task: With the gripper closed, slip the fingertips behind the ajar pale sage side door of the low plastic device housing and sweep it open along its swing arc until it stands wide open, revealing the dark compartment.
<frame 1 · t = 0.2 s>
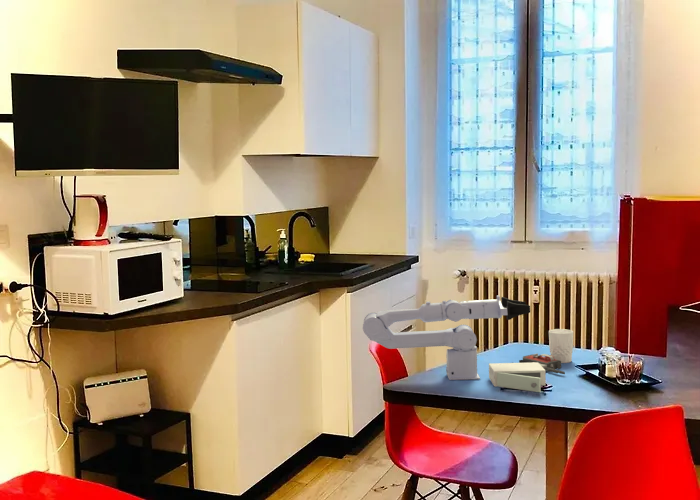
hand: (527, 307, 233), 21 cm above the table, tool horizontal, fingers open, 7 cm apart
side door: (517, 382, 219), point 2 cm above the table, hinge at 35.0°
white cup: (561, 361, 253), on the table
device housing: (516, 381, 229), on the table
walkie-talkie: (546, 370, 243), on the table
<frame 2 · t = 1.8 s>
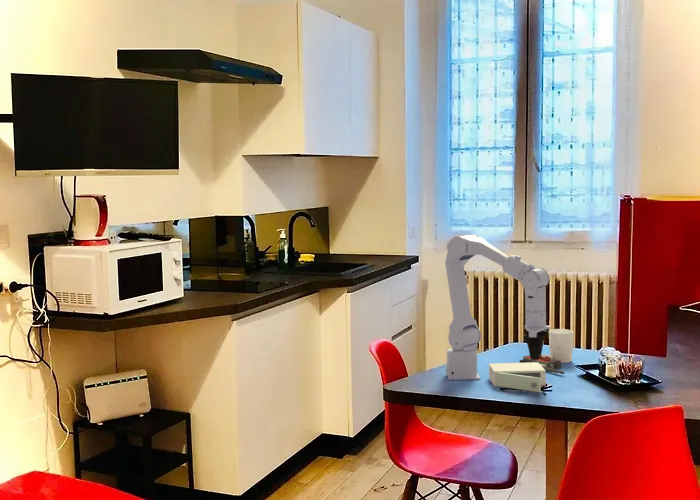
hand: (536, 357, 219), 9 cm above the table, tool pointing down, fingers open, 5 cm apart
nothing on the table moved.
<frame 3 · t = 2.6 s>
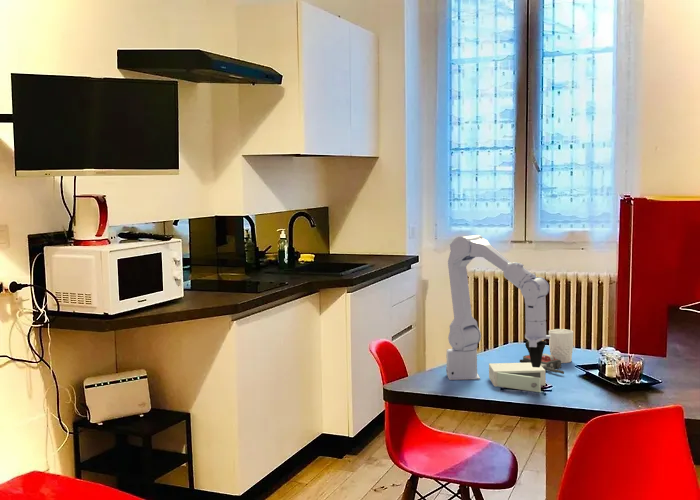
hand: (536, 366, 219), 7 cm above the table, tool pointing down, fingers closed
nothing on the table moved.
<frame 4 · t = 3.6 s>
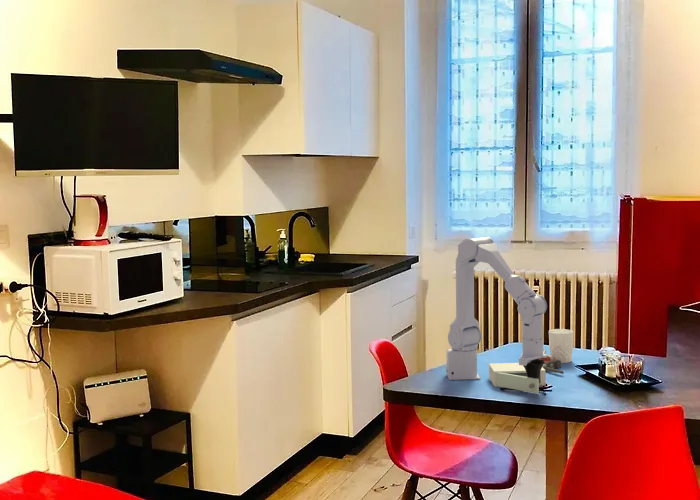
hand: (533, 385, 217), 2 cm above the table, tool pointing down, fingers closed
side door: (516, 382, 219), point 2 cm above the table, hinge at 40.9°, touching gripper
everything else where it was.
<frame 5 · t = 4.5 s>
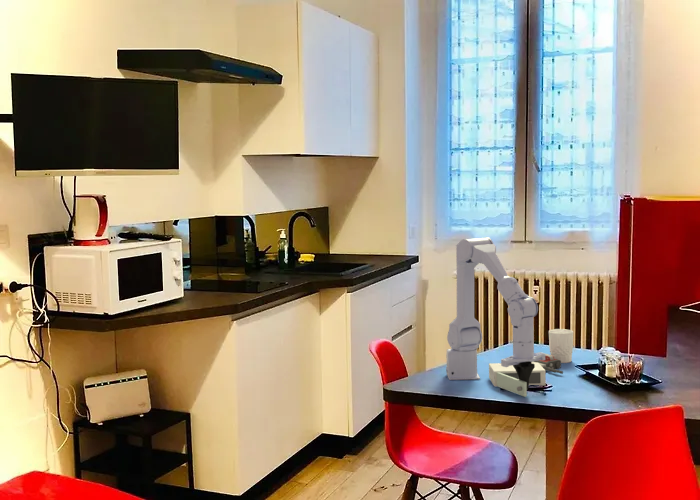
hand: (523, 388, 214), 2 cm above the table, tool pointing down, fingers closed, pressing on side door
side door: (509, 384, 217), point 2 cm above the table, hinge at 64.2°, touching gripper
everything else where it was.
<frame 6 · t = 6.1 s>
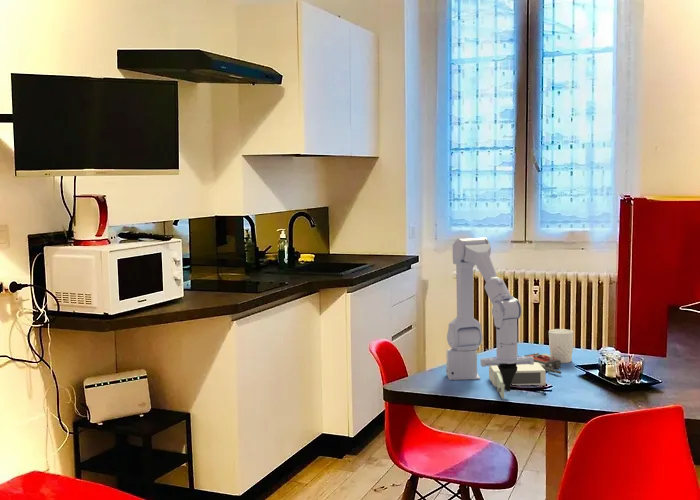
hand: (507, 390, 212), 2 cm above the table, tool pointing down, fingers closed
side door: (498, 385, 217), point 2 cm above the table, hinge at 93.5°, touching gripper
everything else where it was.
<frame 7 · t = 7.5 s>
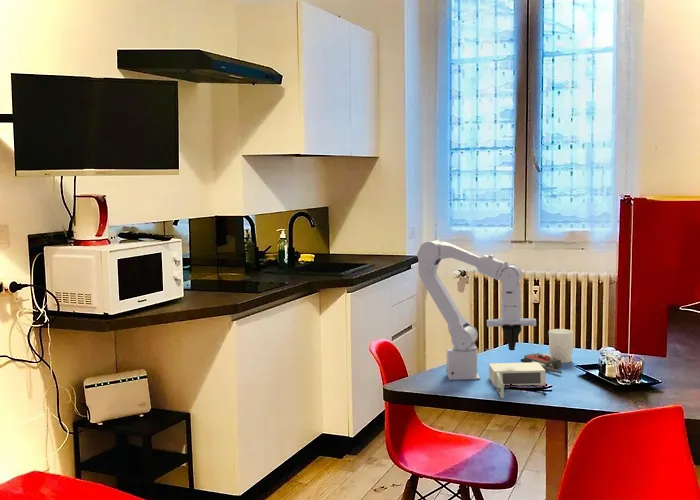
hand: (511, 349, 230), 9 cm above the table, tool pointing down, fingers closed
side door: (498, 385, 217), point 2 cm above the table, hinge at 94.2°
everything else where it was.
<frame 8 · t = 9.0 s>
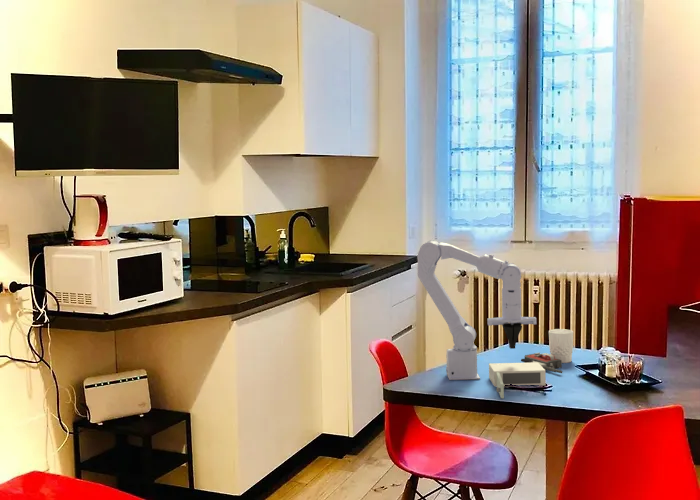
hand: (512, 347, 232), 9 cm above the table, tool pointing down, fingers closed
at the end: side door at +94° (first picture: +35°) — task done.
